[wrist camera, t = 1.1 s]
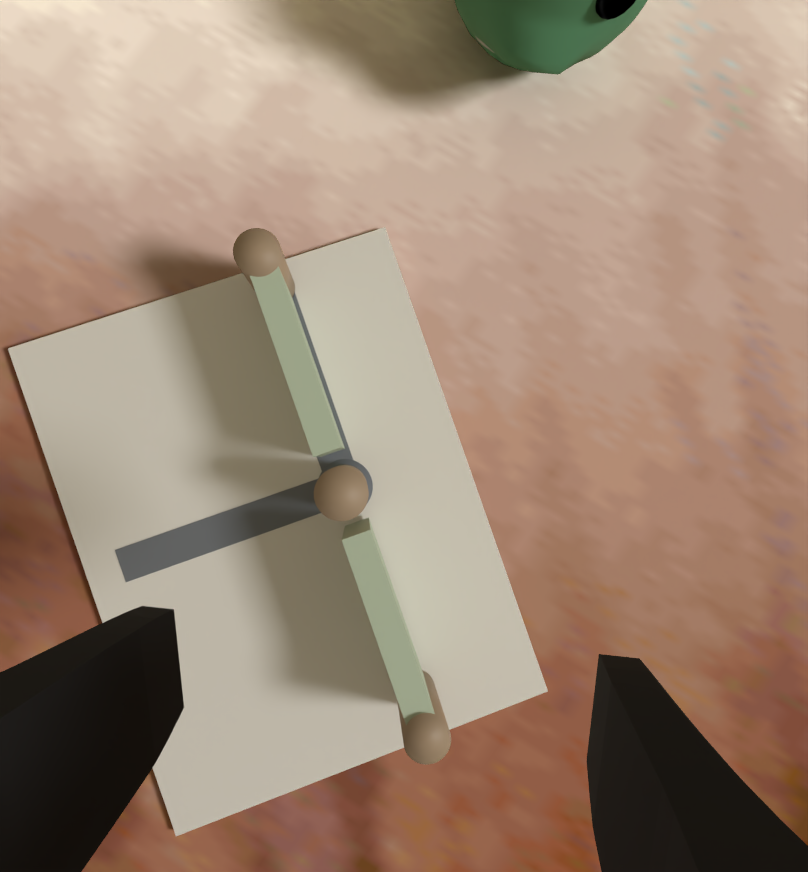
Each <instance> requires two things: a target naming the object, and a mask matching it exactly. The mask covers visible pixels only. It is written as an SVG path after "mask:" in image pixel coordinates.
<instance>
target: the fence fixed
mask: <svg viewBox="0 0 808 872" xmlns="http://www.w3.org/2000/svg"><path fill="white" fill-rule="evenodd" d="M233 255H234V259H235V261H236V263H237V265H238V266H239V268H240V269H241V271H242V273H243V274H244V276H245V277H246V279H247V280H248V282H249V283H250V285H251V287H252V288H253V290H254V291H255V293H256V295H257V298H258V301H259V303H260V306H261V309H262V312H263V315H264V318H265V321H266V323H267V326H268V329H269V332H270V335H271V338H272V341H273V344H274V346H275V349H276V352H277V355H278V358H279V361H280V364H281V366H282V369H283V372H284V375H285V378H286V381H287V384H288V387H289V389H290V392H291V395H292V398H293V401H294V404H295V407H296V409H297V412H298V415H299V418H300V421H301V424H302V427H303V430H304V432H305V435H306V438H307V441H308V444H309V447H310V450H311V452H312V455H313V457H322V456H325V455H328V454H331V453H334V452H337V451H340V450H342V449H345V447H344V444H343V442H342V439H341V436H340V433H339V430H338V427H337V424H336V422H335V419H334V416H333V413H332V410H331V407H330V404H329V402H328V399H327V396H326V393H325V390H324V387H323V384H322V381H321V379H320V376H319V373H318V370H317V367H316V364H315V361H314V359H313V356H312V353H311V350H310V347H309V344H308V341H307V339H306V336H305V333H304V330H303V327H302V324H301V321H300V319H299V316H298V313H297V310H296V307H295V304H294V301H293V299H292V298H293V296H294V293H295V284H294V280H293V278H292V275H291V273H290V270H289V267H288V265H287V262H286V260H285V257H284V254H283V252H282V249H281V247H280V244H279V242H278V240H277V238H276V237H275V236H274V235H273V234H272V233H270V232H269V231H267V230H264V229H260V228H253V229H249V230H246V231H245V232H243V233H242V234H240V235H239V237H238V238H237V239H236V241H235V243H234V247H233ZM368 496H369V491H368V485H367V481H366V478H365V476H364V474H363V473H362V472H361V471H360V470H359V469H358V468H356V467H354V466H351V465H339V466H336V467H334V468H331V469H329V470H327V471H326V472H324V473H323V474H322V475H321V476H320V477H319V479H318V480H317V482H316V485H315V488H314V500H315V504H316V506H317V508H318V509H319V511H320V512H321V513H322V514H323V515H324V516H326V517H327V518H329V519H331V520H335V521H347V520H351V519H353V518H355V517H357V516H358V515H359V514H360V513H361V512H362V511H363V510H364V508H365V506H366V504H367V502H368Z"/></svg>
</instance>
